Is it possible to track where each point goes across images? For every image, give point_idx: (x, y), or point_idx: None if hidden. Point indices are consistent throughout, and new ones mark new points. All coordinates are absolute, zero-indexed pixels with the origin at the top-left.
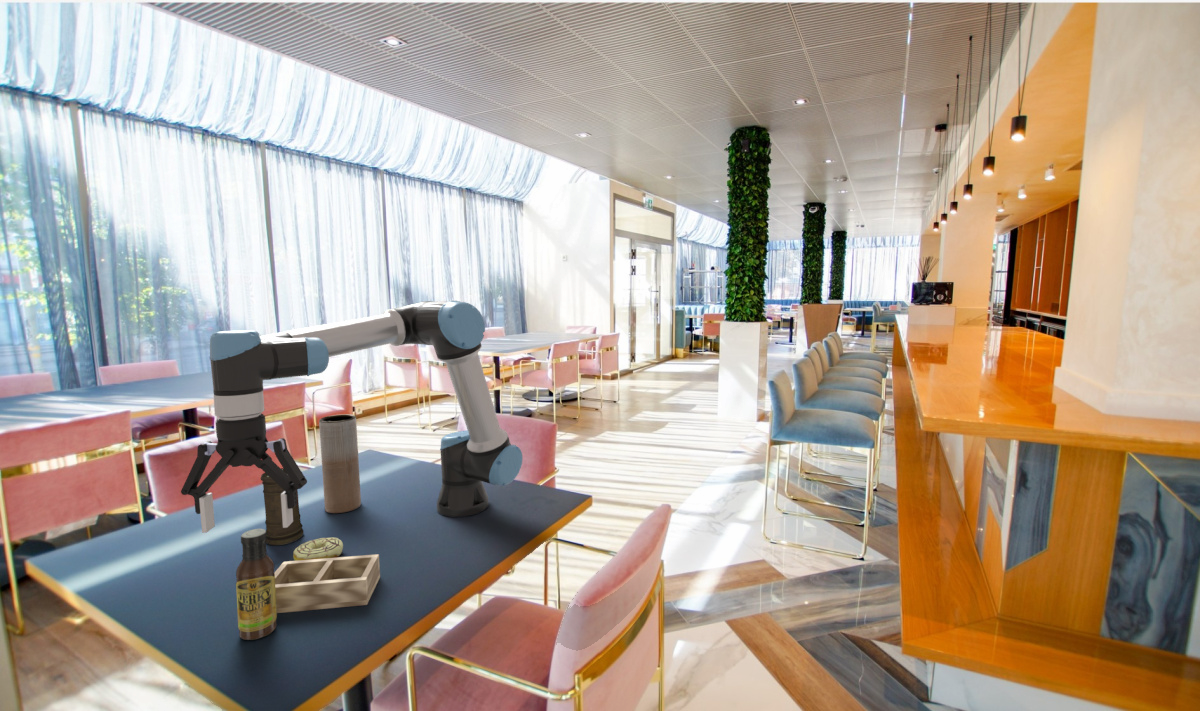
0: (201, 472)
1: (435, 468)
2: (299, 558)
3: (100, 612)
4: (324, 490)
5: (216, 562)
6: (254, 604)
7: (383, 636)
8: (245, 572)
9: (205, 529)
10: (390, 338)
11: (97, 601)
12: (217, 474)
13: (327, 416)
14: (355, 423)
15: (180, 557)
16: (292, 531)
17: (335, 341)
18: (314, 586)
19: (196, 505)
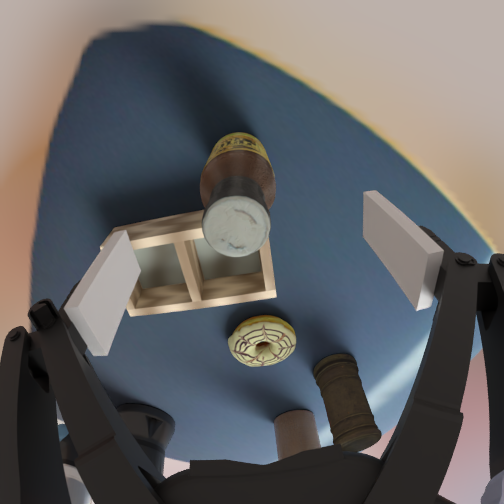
0: (496, 363)
1: None
2: (276, 322)
3: (464, 214)
4: (315, 433)
5: (393, 315)
6: (223, 143)
7: (56, 160)
8: (237, 157)
9: (370, 194)
10: None
11: (474, 235)
12: (425, 366)
13: None
14: None
15: (432, 319)
16: (322, 373)
17: None
18: (175, 230)
19: (438, 241)
